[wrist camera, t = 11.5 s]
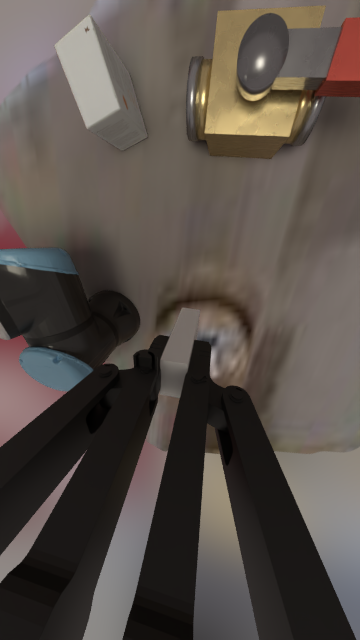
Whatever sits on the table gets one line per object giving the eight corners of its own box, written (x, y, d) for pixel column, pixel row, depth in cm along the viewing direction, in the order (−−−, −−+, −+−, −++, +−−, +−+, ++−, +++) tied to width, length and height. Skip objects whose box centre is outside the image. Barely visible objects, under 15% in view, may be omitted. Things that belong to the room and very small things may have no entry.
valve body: (198, 154, 32) (187, 128, 22) (206, 75, 28) (196, 0, 18) (284, 159, 30) (311, 133, 21) (307, 74, 26) (357, -10, 16)
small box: (101, 93, 31) (51, 42, 22) (130, 73, 29) (88, 9, 20) (122, 152, 34) (85, 130, 25) (149, 138, 32) (120, 108, 23)
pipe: (192, 147, 31) (184, 130, 25) (198, 79, 27) (190, 37, 21) (293, 153, 29) (313, 134, 23) (315, 79, 25) (346, 32, 19)
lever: (231, 101, 21) (232, 87, 18) (241, 36, 18) (244, 11, 16) (403, 105, 18) (428, 89, 16) (438, 32, 16) (472, 2, 14)
